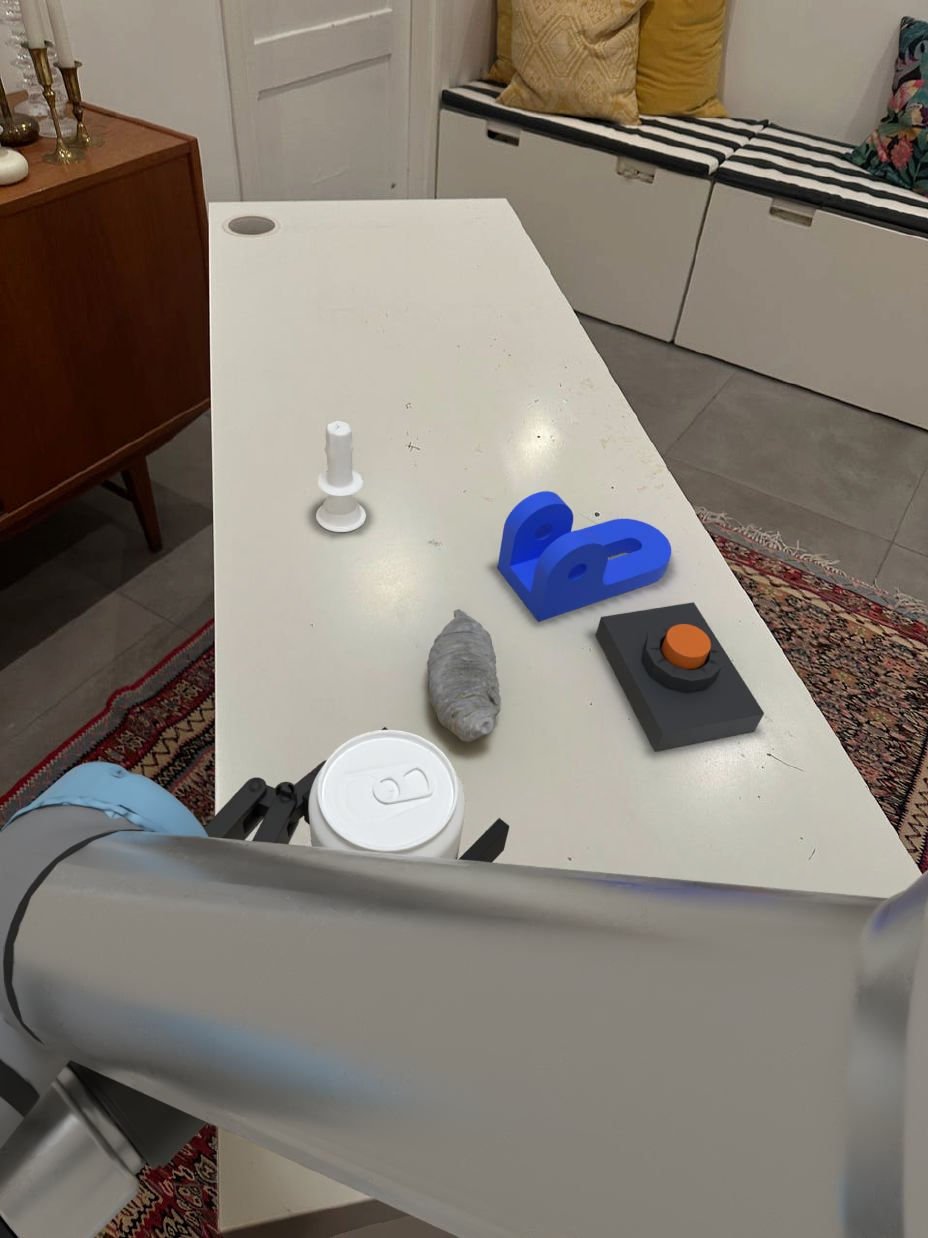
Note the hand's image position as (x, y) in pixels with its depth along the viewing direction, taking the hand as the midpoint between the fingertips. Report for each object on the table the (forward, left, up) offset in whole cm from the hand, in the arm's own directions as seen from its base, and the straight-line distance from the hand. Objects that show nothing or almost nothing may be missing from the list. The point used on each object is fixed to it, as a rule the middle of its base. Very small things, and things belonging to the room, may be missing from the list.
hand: (442, 787), depth 51 cm
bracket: (+33, -26, -18) cm, 46 cm away
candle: (+46, -2, -18) cm, 50 cm away
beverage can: (-3, +4, -7) cm, 8 cm away
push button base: (+17, -28, -18) cm, 38 cm away
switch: (+17, -28, -14) cm, 36 cm away
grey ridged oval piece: (+20, -8, -18) cm, 28 cm away
